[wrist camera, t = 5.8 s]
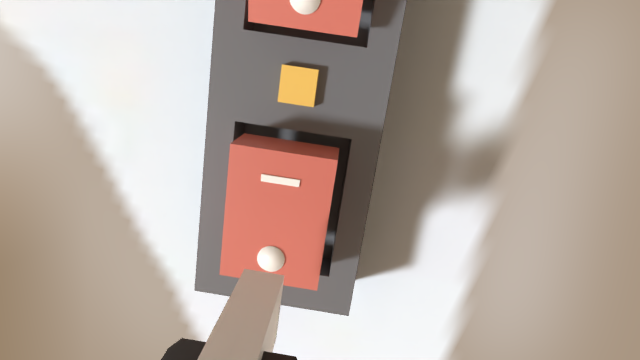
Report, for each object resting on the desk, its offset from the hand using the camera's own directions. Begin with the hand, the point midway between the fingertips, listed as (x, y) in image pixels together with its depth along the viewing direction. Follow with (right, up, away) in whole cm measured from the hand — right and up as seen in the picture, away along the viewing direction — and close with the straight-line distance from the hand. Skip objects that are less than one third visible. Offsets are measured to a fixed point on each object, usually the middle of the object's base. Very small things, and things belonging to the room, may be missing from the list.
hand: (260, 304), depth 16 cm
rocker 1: (0, +4, +4) cm, 6 cm away
